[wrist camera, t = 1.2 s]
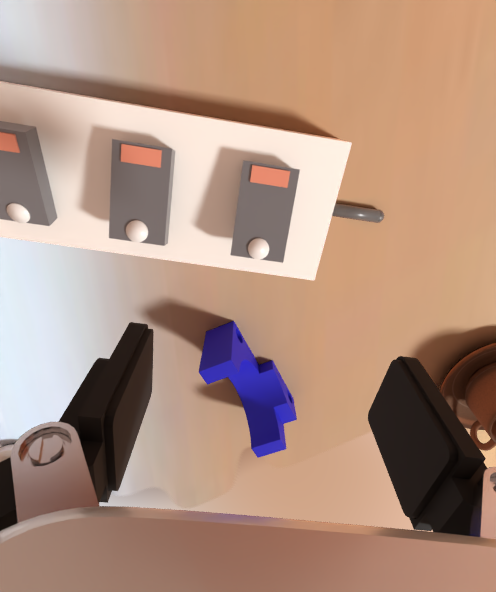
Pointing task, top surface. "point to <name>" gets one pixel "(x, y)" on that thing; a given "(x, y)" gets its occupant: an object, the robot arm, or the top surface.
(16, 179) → the grey rectangular block
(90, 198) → the power strip
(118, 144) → the block
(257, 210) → the grey flat block
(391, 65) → the top surface
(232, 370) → the cable clip
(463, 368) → the cup and saucer
